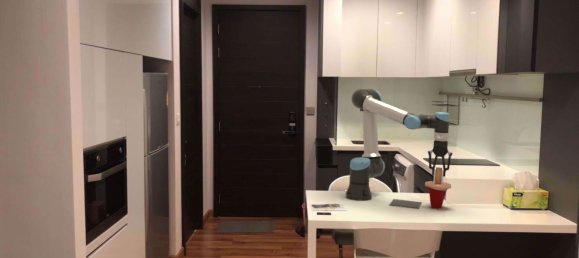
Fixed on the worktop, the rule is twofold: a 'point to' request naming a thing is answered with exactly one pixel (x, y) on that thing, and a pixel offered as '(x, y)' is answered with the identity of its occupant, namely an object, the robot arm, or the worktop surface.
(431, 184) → the lid
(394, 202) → the mat
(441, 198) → the plastic cup
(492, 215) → the worktop surface
